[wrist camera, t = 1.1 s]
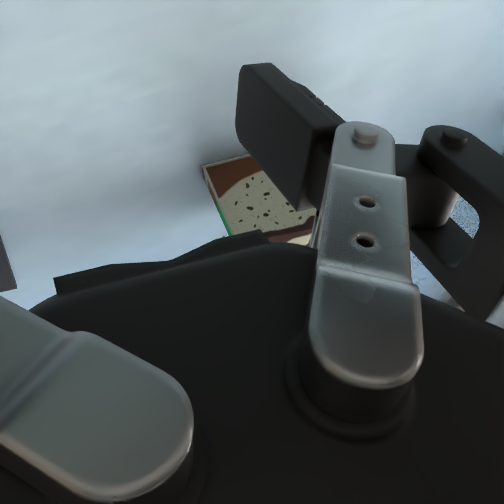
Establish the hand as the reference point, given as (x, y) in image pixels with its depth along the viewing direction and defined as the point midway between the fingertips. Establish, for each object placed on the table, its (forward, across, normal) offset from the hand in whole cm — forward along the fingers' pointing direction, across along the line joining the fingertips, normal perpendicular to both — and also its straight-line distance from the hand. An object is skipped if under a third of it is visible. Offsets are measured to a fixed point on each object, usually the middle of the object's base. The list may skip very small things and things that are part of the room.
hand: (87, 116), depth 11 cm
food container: (+19, -15, +18) cm, 30 cm away
